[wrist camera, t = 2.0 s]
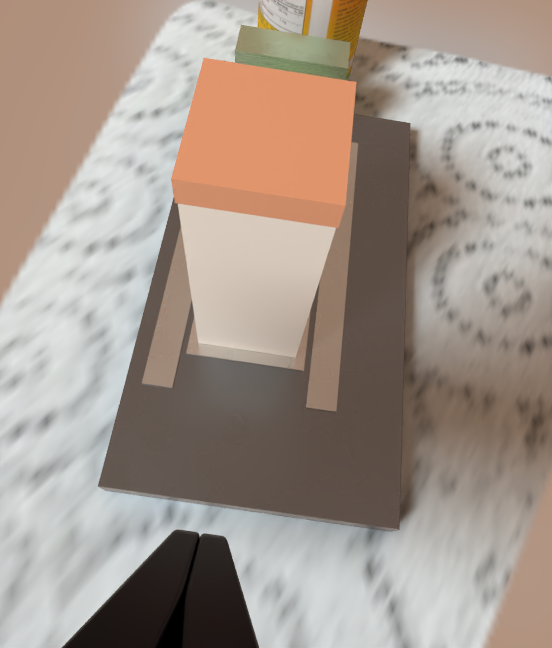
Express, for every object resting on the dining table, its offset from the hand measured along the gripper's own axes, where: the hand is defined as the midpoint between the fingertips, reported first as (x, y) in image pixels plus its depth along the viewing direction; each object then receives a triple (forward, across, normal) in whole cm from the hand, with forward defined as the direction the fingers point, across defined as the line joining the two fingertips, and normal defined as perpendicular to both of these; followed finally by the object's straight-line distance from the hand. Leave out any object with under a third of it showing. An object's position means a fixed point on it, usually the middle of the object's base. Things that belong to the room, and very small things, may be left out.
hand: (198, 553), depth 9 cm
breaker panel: (+17, -1, 0) cm, 17 cm away
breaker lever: (+14, 0, +1) cm, 14 cm away
